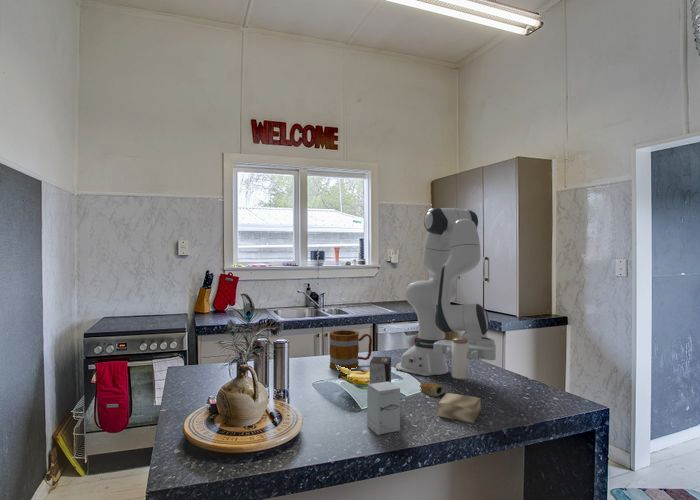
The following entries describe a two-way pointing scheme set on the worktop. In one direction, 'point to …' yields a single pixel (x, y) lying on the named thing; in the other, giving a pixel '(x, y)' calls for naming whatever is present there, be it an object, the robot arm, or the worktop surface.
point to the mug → (346, 348)
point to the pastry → (432, 389)
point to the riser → (459, 407)
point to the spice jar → (459, 358)
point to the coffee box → (380, 370)
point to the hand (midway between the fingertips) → (459, 355)
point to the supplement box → (383, 407)
